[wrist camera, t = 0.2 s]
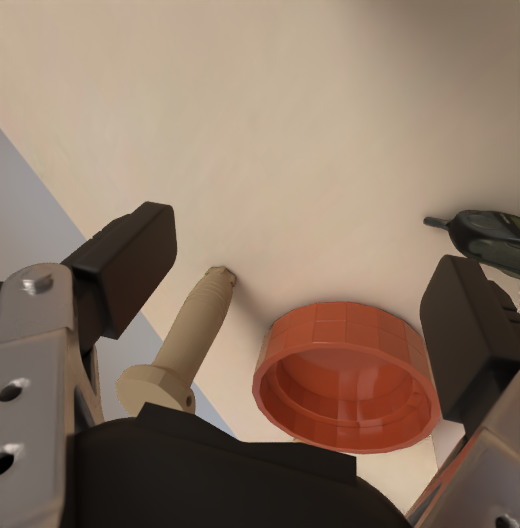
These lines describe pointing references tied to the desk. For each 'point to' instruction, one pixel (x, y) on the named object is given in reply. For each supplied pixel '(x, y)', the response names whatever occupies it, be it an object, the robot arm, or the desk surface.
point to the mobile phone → (485, 238)
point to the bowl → (347, 379)
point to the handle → (180, 349)
